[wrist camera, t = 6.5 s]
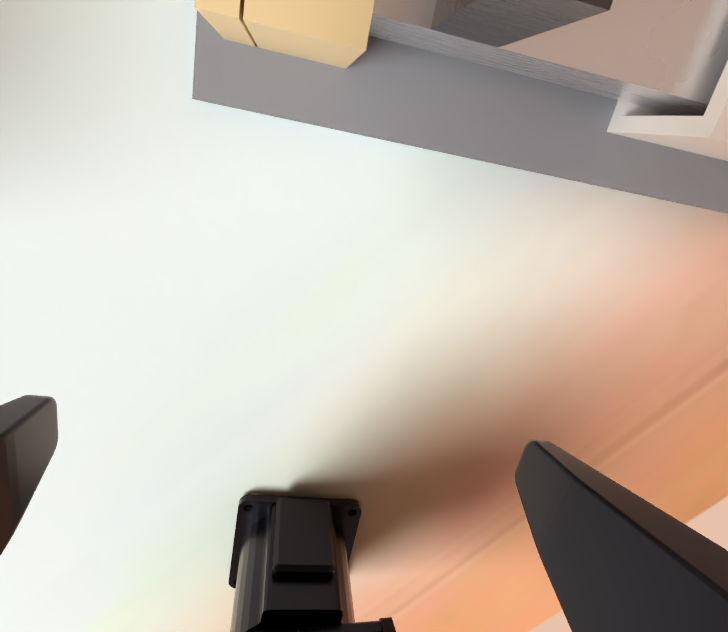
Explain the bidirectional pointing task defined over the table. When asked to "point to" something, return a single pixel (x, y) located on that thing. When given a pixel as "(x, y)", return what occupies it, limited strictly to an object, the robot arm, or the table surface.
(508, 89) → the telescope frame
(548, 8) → the steel t-shaped block
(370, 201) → the table surface
